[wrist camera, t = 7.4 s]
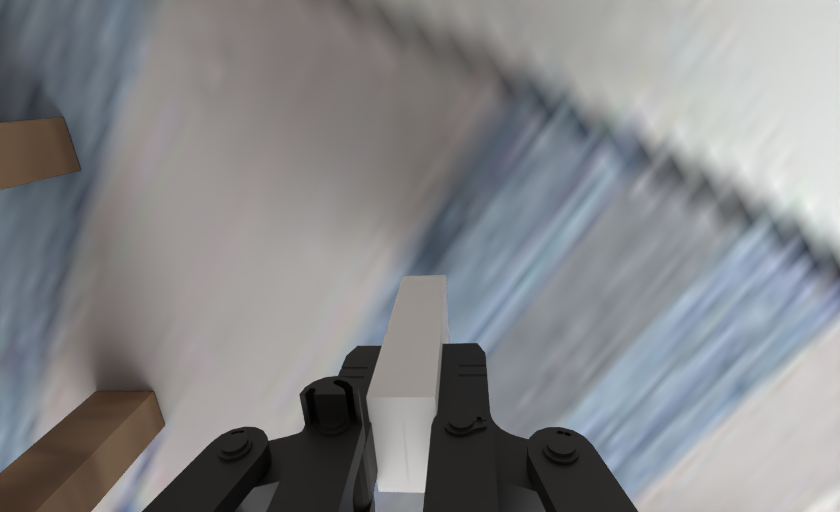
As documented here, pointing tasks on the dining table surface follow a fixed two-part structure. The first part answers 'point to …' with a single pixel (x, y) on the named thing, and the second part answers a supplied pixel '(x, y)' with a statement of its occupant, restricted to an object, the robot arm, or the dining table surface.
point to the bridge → (99, 414)
